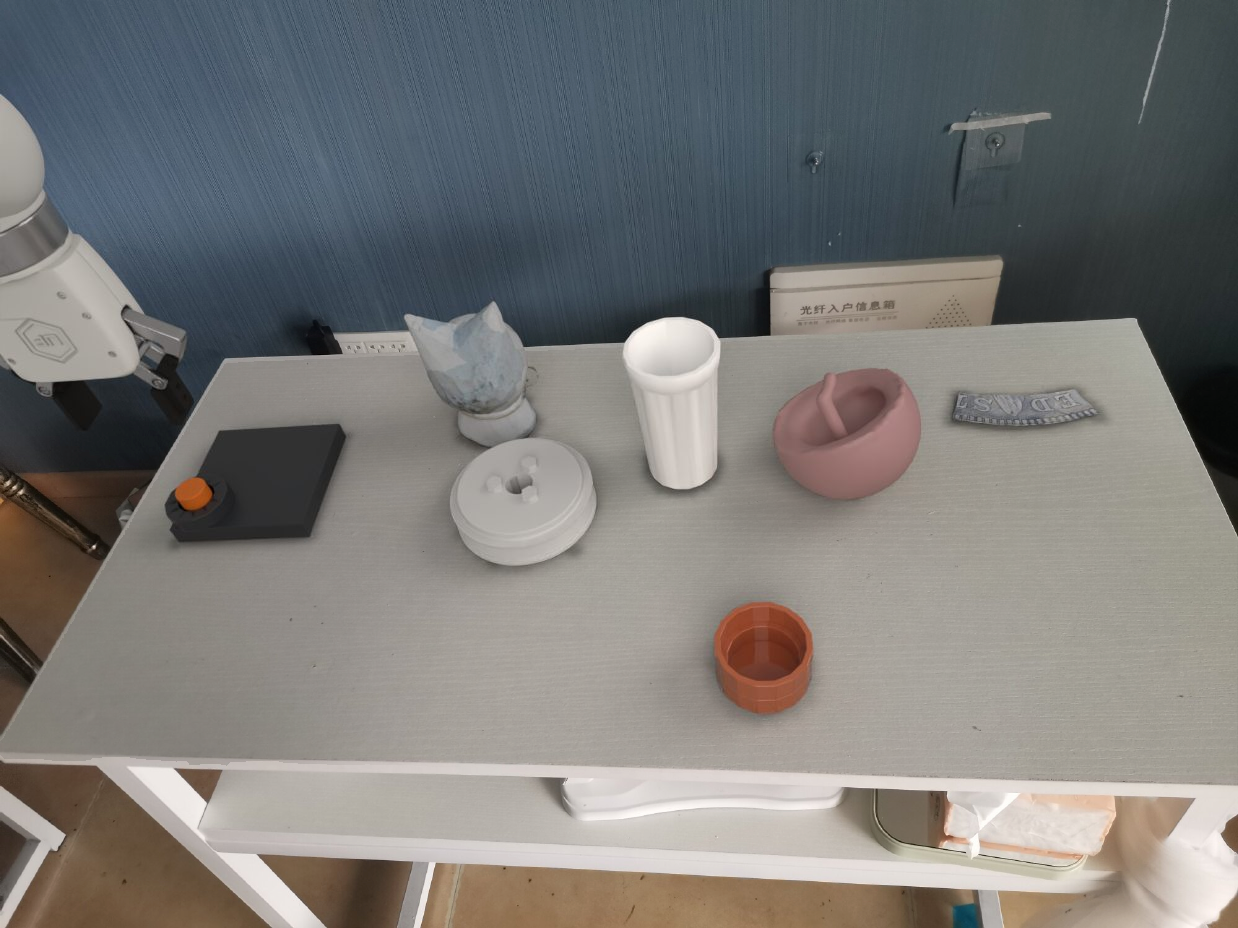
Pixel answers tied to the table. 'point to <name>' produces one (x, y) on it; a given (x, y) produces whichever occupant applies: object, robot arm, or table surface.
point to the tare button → (193, 494)
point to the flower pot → (763, 657)
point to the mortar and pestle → (849, 433)
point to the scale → (261, 484)
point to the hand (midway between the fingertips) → (137, 416)
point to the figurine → (478, 373)
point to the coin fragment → (1022, 408)
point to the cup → (676, 397)
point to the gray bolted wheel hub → (523, 501)
